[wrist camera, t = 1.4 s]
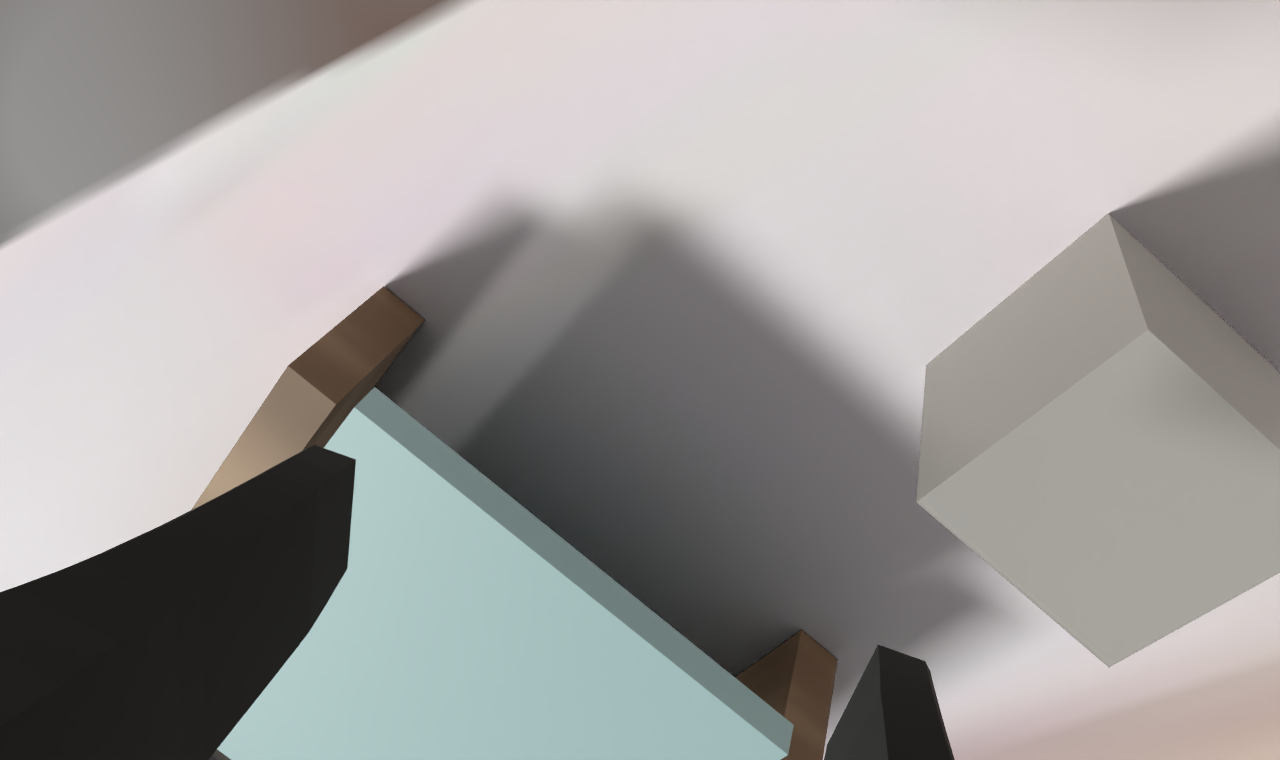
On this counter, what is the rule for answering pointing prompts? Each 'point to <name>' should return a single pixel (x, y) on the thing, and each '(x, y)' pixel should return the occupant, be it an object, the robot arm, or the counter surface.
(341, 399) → the frame
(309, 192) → the counter surface
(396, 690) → the trapdoor
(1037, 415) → the grey block
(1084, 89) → the counter surface
